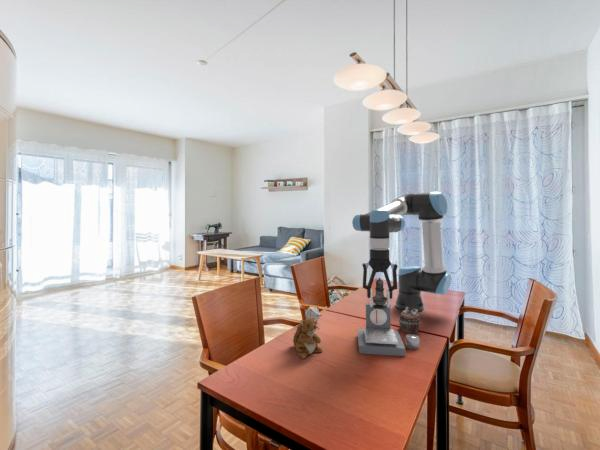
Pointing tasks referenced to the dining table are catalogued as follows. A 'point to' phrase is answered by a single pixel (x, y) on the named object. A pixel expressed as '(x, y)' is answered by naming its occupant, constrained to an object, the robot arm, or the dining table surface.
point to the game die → (312, 313)
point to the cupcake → (410, 320)
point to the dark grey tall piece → (379, 295)
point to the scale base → (380, 321)
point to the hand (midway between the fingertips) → (379, 305)
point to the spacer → (412, 341)
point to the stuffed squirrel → (306, 338)
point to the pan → (380, 336)
